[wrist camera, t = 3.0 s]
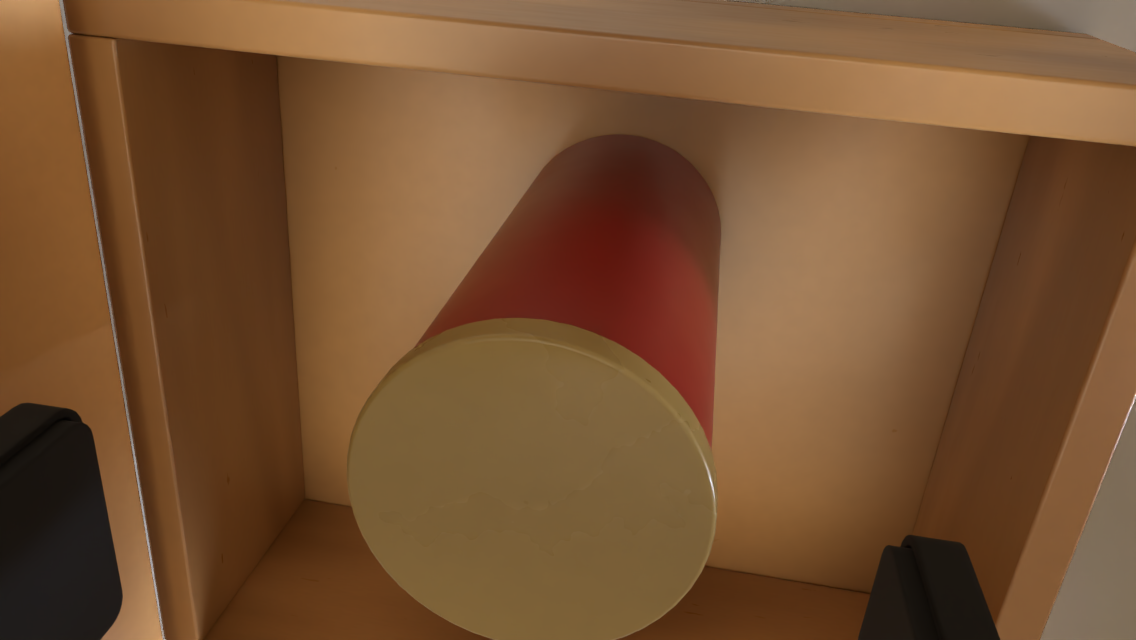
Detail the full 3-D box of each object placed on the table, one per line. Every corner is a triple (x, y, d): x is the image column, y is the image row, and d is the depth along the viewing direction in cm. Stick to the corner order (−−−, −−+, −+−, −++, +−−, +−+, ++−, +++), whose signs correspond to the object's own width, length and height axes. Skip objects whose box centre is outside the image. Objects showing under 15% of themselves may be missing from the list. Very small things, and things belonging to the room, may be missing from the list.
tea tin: (740, 142, 20) (745, 367, 11) (709, 339, 23) (689, 678, 13) (523, 118, 21) (337, 310, 11) (514, 312, 23) (349, 616, 13)
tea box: (1089, 33, 19) (1257, 97, 13) (912, 604, 26) (968, 823, 20) (253, -44, 21) (56, -22, 15) (292, 499, 28) (168, 668, 22)
